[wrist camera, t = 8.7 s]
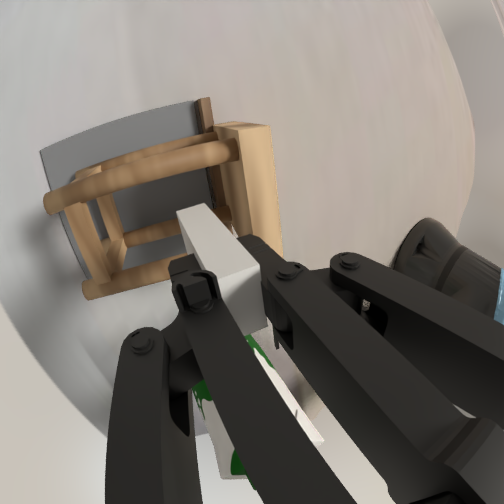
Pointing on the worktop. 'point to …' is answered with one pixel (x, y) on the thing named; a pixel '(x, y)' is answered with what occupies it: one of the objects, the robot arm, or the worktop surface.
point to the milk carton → (222, 444)
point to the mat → (140, 196)
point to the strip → (215, 171)
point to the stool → (160, 166)
